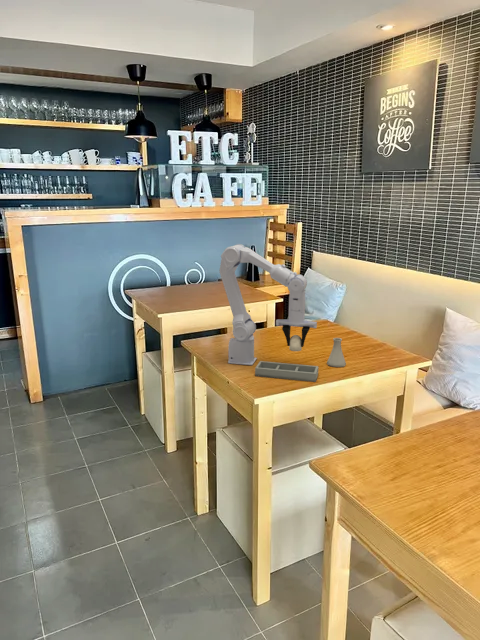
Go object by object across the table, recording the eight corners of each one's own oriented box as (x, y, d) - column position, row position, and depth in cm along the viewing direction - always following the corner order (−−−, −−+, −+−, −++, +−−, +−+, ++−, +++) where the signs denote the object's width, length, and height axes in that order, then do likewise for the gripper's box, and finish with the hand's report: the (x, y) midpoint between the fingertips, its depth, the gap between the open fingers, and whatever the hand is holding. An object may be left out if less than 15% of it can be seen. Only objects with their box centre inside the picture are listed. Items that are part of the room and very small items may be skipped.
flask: (344, 361, 188) (346, 336, 185) (347, 368, 181) (348, 342, 178) (325, 360, 188) (326, 335, 186) (327, 367, 181) (328, 341, 179)
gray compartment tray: (255, 376, 173) (255, 368, 172) (259, 368, 180) (259, 361, 179) (315, 382, 167) (316, 373, 167) (318, 374, 174) (318, 366, 174)
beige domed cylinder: (288, 350, 178) (289, 336, 177) (290, 347, 182) (290, 333, 181) (300, 351, 177) (301, 337, 176) (302, 348, 181) (302, 334, 180)
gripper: (318, 308, 178) (316, 343, 181) (278, 305, 181) (277, 341, 185) (316, 312, 171) (314, 349, 175) (275, 310, 175) (274, 346, 178)
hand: (295, 345), depth 179 cm, fingers closed on beige domed cylinder, 4 cm apart
